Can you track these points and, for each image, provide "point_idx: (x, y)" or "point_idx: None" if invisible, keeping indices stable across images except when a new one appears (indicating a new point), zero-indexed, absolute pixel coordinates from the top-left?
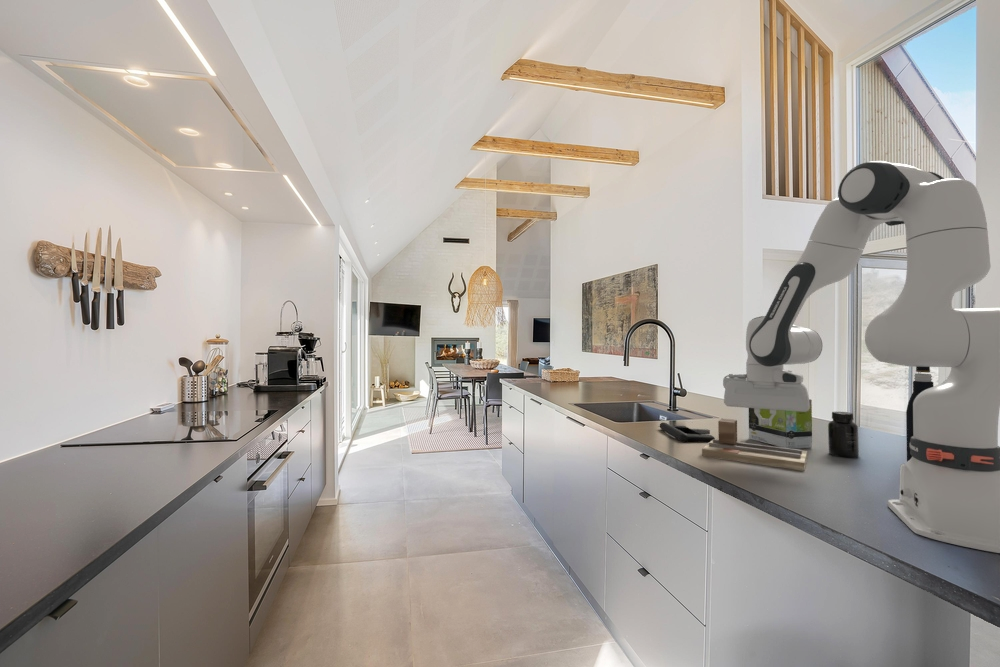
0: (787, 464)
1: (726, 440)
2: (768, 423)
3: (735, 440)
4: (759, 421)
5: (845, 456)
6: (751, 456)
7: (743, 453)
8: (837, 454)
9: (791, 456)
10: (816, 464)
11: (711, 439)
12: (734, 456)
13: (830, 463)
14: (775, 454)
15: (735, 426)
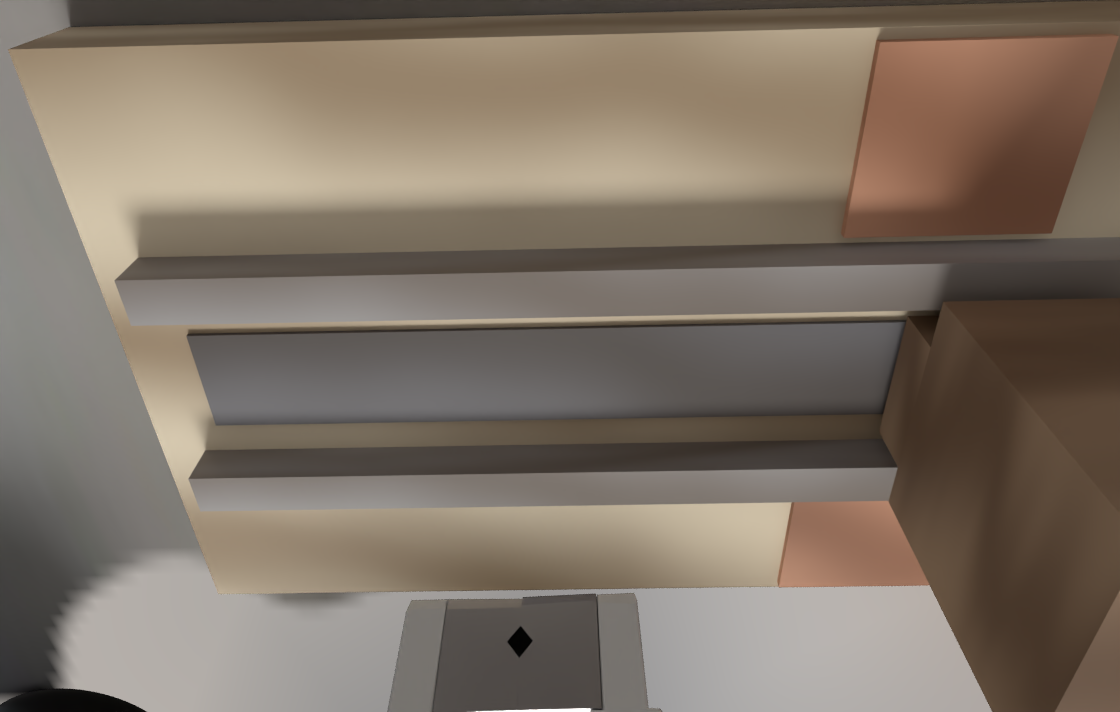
0: (231, 33)
1: (1069, 318)
2: (455, 631)
3: (927, 414)
4: (632, 646)
5: (37, 692)
6: (679, 30)
7: (793, 101)
8: (89, 702)
9: (229, 260)
10: (105, 389)
11: None
12: (903, 14)
13: (40, 485)
14: (411, 257)
15: (1023, 583)
